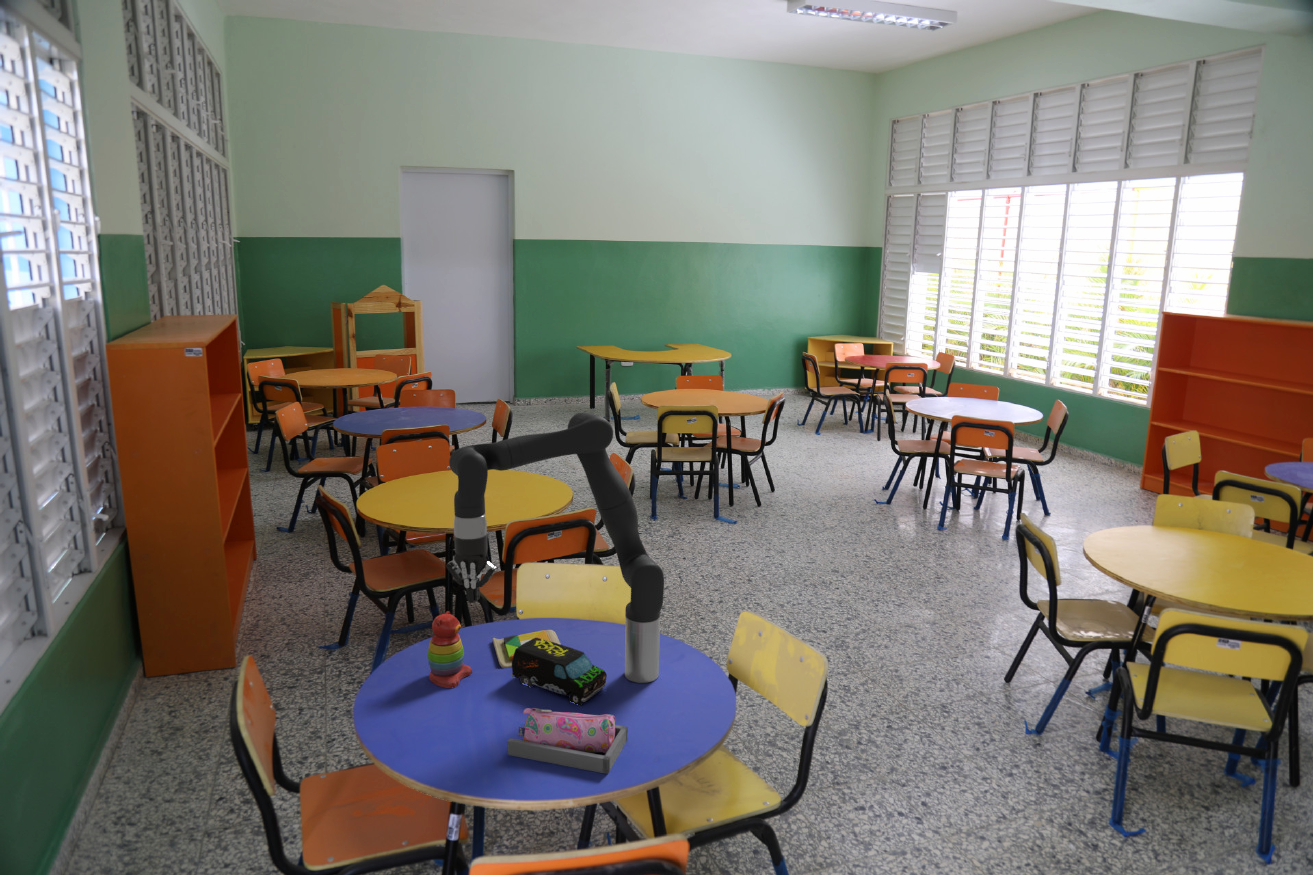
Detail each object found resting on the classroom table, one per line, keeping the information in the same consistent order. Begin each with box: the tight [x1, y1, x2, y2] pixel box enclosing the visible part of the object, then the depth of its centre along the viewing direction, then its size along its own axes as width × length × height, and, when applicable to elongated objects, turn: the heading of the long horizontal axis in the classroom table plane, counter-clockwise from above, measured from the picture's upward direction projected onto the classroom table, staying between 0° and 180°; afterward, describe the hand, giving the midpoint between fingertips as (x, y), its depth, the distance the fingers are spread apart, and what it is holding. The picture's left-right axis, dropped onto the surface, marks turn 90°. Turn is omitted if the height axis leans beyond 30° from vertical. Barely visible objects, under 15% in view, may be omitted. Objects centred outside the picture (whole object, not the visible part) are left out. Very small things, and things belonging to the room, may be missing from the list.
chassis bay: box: [507, 724, 628, 775], centre depth 196 cm, size 14×24×4 cm, turn 74°
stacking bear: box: [427, 610, 473, 689], centre depth 225 cm, size 11×10×18 cm
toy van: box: [510, 638, 608, 706], centre depth 222 cm, size 11×25×10 cm, turn 58°
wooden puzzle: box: [492, 629, 562, 669], centre depth 243 cm, size 18×19×4 cm
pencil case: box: [517, 707, 617, 755], centre depth 195 cm, size 21×9×9 cm, turn 81°
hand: (473, 601), depth 203 cm, fingers closed
